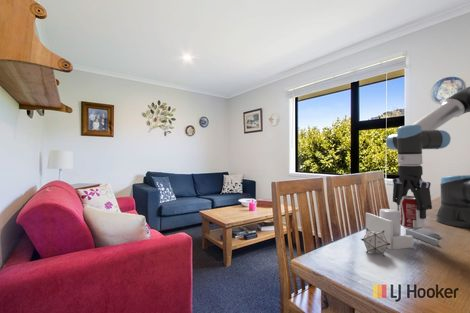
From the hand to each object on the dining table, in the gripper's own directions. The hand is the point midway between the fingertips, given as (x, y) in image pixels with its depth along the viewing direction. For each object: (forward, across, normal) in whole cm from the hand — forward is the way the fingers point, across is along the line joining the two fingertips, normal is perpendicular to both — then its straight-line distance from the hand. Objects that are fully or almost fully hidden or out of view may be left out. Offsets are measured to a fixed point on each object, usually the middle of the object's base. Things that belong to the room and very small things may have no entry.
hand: (411, 223), depth 86 cm
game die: (+6, +8, -23) cm, 25 cm away
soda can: (+2, 0, 0) cm, 2 cm away
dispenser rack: (+6, 0, -5) cm, 8 cm away
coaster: (+7, -4, +10) cm, 13 cm away
